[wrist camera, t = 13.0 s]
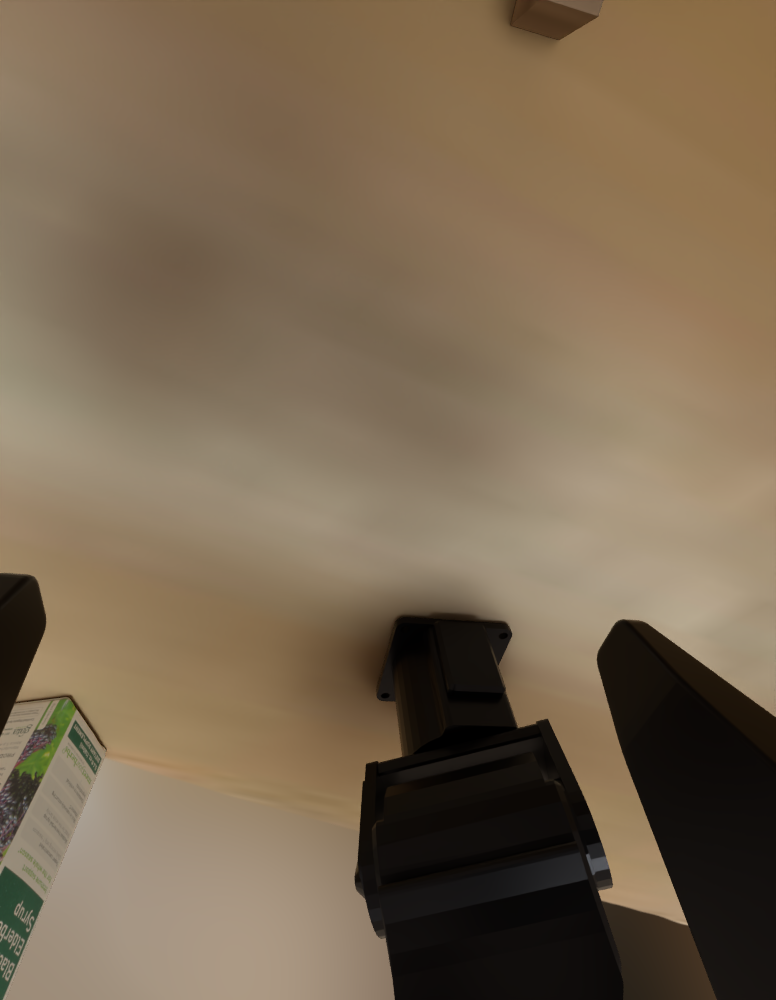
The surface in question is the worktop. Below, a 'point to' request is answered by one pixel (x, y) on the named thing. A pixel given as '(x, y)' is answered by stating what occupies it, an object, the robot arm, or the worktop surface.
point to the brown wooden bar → (554, 15)
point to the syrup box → (38, 812)
